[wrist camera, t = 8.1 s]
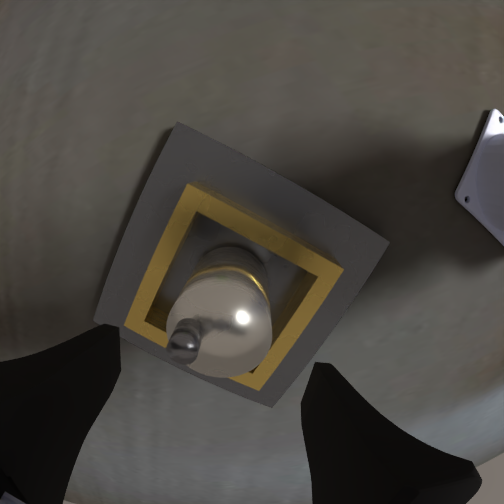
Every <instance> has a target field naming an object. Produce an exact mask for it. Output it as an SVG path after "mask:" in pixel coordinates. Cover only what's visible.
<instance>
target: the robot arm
mask: <svg viewBox="0 0 504 504" xmlns="http://www.w3.org/2000/svg"><path fill="white" fill-rule="evenodd" d="M499 119H500V122H499ZM465 197H467V201H466V202H465ZM455 199H456V200H457V201H458V202H459V203H460V204H461V205H462V206H463V207H464V208H465V209H467V210H468V211H469V212H470V213H471V214H472V215H473V216H474V217H475V218H476V219H477V220H478V221H479V222H480V223H481V224H482V225H483V226H484V227H485V228H486V229H487V230H488V231H489V232H490V233H491V234H492V235H493V236H494V237H495V238H496V239H497V240H498V241H499V242H500V243H501V244H502V245H503V246H504V116H503V115H502V114H501V113H500V112H499V111H498V110H497V109H492V110H491V111H490V113H489V115H488V118H487V120H486V123H485V126H484V128H483V131H482V133H481V136H480V138H479V141H478V143H477V145H476V148H475V150H474V152H473V155H472V157H471V159H470V161H469V164H468V166H467V168H466V170H465V172H464V174H463V177H462V179H461V181H460V183H459V185H458V187H457V189H456V191H455ZM120 372H121V361H120V330H119V327H117V326H113V325H109V324H102V325H100V326H97V327H95V328H93V329H91V330H89V331H87V332H85V333H83V334H81V335H79V336H76V337H74V338H72V339H70V340H68V341H66V342H64V343H61V344H59V345H56V346H54V347H51V348H49V349H46V350H44V351H41V352H38V353H35V354H32V355H29V356H25V357H22V358H18V359H13V360H8V361H3V362H0V504H63V500H64V496H65V493H66V489H67V486H68V482H69V479H70V476H71V473H72V470H73V467H74V465H75V462H76V459H77V457H78V454H79V452H80V449H81V447H82V444H83V442H84V440H85V438H86V436H87V434H88V432H89V430H90V428H91V427H92V425H93V423H94V422H95V420H96V418H97V416H98V415H99V413H100V411H101V410H102V408H103V406H104V405H105V403H106V401H107V400H108V398H109V396H110V395H111V393H112V391H113V389H114V386H115V384H116V382H117V379H118V377H119V374H120ZM301 422H302V430H303V436H304V441H305V446H306V452H307V457H308V462H309V468H310V473H311V481H312V501H313V504H466V503H467V502H468V501H469V500H470V499H471V498H472V497H473V496H474V495H475V494H476V493H477V491H478V490H479V488H480V486H481V484H482V479H481V477H480V475H479V473H478V471H477V470H476V468H475V466H474V464H473V462H472V461H469V460H466V459H463V458H460V457H457V456H453V455H450V454H448V453H445V452H443V451H440V450H438V449H436V448H434V447H431V446H429V445H427V444H425V443H424V442H422V441H420V440H418V439H416V438H415V437H413V436H411V435H410V434H408V433H406V432H405V431H403V430H402V429H400V428H399V427H397V426H396V425H395V424H393V423H392V422H391V421H389V420H388V419H387V418H385V417H384V416H383V415H382V414H380V413H379V412H378V411H377V410H376V409H375V408H374V407H373V406H372V405H370V404H369V403H368V402H367V401H366V400H365V399H364V398H363V397H362V396H361V395H360V394H359V393H358V392H357V391H356V390H355V389H354V388H353V387H352V386H351V384H350V383H349V382H348V381H347V380H346V379H345V378H344V377H343V376H342V375H341V374H340V373H339V371H338V370H337V369H336V368H335V367H334V366H333V365H332V364H330V363H320V362H315V364H314V367H313V370H312V373H311V375H310V378H309V381H308V384H307V387H306V390H305V393H304V395H303V398H302V401H301Z"/></svg>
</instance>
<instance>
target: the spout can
mask: <svg viewBox="0 0 504 504" xmlns="http://www.w3.org/2000/svg"><path fill="white" fill-rule="evenodd" d="M166 332H167V338H168V341H169V342H168V344H167V346H166V352H167V354H168V356H169V358H170V359H171V360H173V361H174V362H176V363H178V364H182V365H186V366H188V367H189V368H191V369H193V370H194V371H196V372H199V373H201V374H204V375H207V376H212V377H219V378H227V377H234V376H239V375H242V374H245V373H247V372H249V371H251V370H252V369H254V368H255V367H257V366H258V365H259V364H260V363H261V362H262V361H263V360H264V358H265V357H266V355H267V354H268V352H269V350H270V346H271V343H272V324H271V312H270V301H269V290H268V279H267V274H266V271H265V269H264V267H263V265H262V264H261V262H260V261H259V260H258V259H257V258H256V257H255V256H254V255H252V254H251V253H249V252H248V251H246V250H243V249H240V248H236V247H222V248H218V249H215V250H212V251H210V252H209V253H207V254H206V255H205V256H203V257H202V258H201V259H200V261H199V262H198V264H197V265H196V267H195V269H194V270H193V272H192V274H191V275H190V277H189V279H188V281H187V282H186V284H185V286H184V288H183V289H182V291H181V293H180V295H179V296H178V298H177V300H176V302H175V304H174V305H173V307H172V309H171V311H170V313H169V316H168V319H167V325H166Z"/></svg>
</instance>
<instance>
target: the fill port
mask: <svg viewBox="0 0 504 504" xmlns="http://www.w3.org/2000/svg"><path fill="white" fill-rule="evenodd" d="M389 244H390V242H389V241H387V240H386V239H384V238H383V237H381V236H380V235H378V234H377V233H375V232H374V231H372V230H371V229H369V228H368V227H366V226H364V225H363V224H361V223H360V222H358V221H357V220H355V219H353V218H352V217H350V216H349V215H347V214H345V213H344V212H342V211H341V210H339V209H337V208H336V207H334V206H333V205H331V204H329V203H328V202H326V201H324V200H323V199H321V198H319V197H318V196H316V195H314V194H313V193H311V192H309V191H307V190H306V189H304V188H302V187H301V186H299V185H297V184H295V183H294V182H292V181H290V180H288V179H287V178H285V177H283V176H281V175H280V174H278V173H276V172H274V171H272V170H271V169H269V168H267V167H265V166H263V165H262V164H260V163H258V162H256V161H254V160H252V159H251V158H249V157H247V156H245V155H243V154H241V153H239V152H237V151H235V150H234V149H232V148H230V147H228V146H226V145H224V144H222V143H220V142H218V141H216V140H214V139H212V138H210V137H208V136H206V135H204V134H202V133H200V132H198V131H196V130H194V129H192V128H190V127H188V126H186V125H184V124H182V123H180V122H177V123H176V125H175V127H174V129H173V130H172V132H171V134H170V136H169V138H168V140H167V142H166V144H165V146H164V148H163V150H162V152H161V154H160V156H159V158H158V160H157V162H156V164H155V166H154V168H153V170H152V172H151V174H150V176H149V178H148V180H147V183H146V185H145V187H144V189H143V191H142V193H141V196H140V198H139V200H138V202H137V205H136V207H135V209H134V211H133V214H132V216H131V218H130V221H129V223H128V226H127V228H126V230H125V233H124V235H123V238H122V240H121V243H120V245H119V248H118V250H117V253H116V256H115V258H114V261H113V263H112V266H111V269H110V272H109V274H108V277H107V280H106V283H105V285H104V288H103V291H102V294H101V297H100V300H99V303H98V306H97V309H96V312H95V315H94V318H93V321H94V322H95V323H97V324H99V325H102V324H109V325H113V326H117V327H119V330H120V337H121V338H123V339H125V340H126V341H128V342H130V343H132V344H134V345H135V346H137V347H139V348H141V349H143V350H145V351H146V352H148V353H150V354H152V355H154V356H156V357H158V358H160V359H162V360H164V361H166V362H168V363H170V364H172V365H174V366H176V367H178V368H180V369H182V370H184V371H186V372H188V373H190V374H192V375H195V376H197V377H199V378H201V379H203V380H205V381H208V382H210V383H212V384H214V385H217V386H219V387H221V388H224V389H226V390H228V391H231V392H233V393H235V394H238V395H240V396H243V397H245V398H248V399H250V400H253V401H255V402H258V403H260V404H263V405H265V406H268V407H271V408H272V407H273V406H274V405H275V404H276V403H277V401H278V400H279V399H280V398H281V397H282V395H283V394H284V393H285V392H286V390H287V389H288V388H289V387H290V386H291V384H292V383H293V382H294V381H295V379H296V378H297V377H298V375H299V374H300V373H301V372H302V370H303V369H304V368H305V367H306V365H307V364H308V363H309V361H310V360H311V359H312V357H313V356H314V355H315V353H316V352H317V351H318V349H319V348H320V347H321V345H322V344H323V343H324V341H325V340H326V339H327V337H328V336H329V334H330V333H331V332H332V330H333V329H334V327H335V326H336V325H337V323H338V322H339V320H340V319H341V318H342V316H343V315H344V313H345V312H346V310H347V309H348V307H349V306H350V305H351V303H352V302H353V300H354V299H355V297H356V296H357V294H358V293H359V291H360V290H361V288H362V287H363V285H364V283H365V282H366V280H367V279H368V277H369V276H370V274H371V273H372V271H373V269H374V268H375V266H376V265H377V263H378V262H379V260H380V258H381V257H382V255H383V253H384V252H385V250H386V249H387V247H388V245H389ZM222 247H236V248H240V249H243V250H246V251H248V252H249V253H251V254H252V255H254V256H255V257H256V258H257V259H258V260H259V261H260V262H261V264H262V265H263V267H264V269H265V271H266V274H267V279H268V290H269V301H270V312H271V324H272V343H271V346H270V350H269V352H268V354H267V355H266V357H265V358H264V360H263V361H262V362H261V363H260V364H259V365H258V366H257V367H255V368H254V369H252V370H251V371H249V372H247V373H245V374H242V375H239V376H234V377H227V378H219V377H212V376H207V375H204V374H201V373H199V372H196V371H194V370H193V369H191V368H189V367H188V366H186V365H182V364H178V363H176V362H174V361H173V360H171V359H170V358H169V356H168V354H167V352H166V346H167V344H168V342H169V341H168V338H167V332H166V325H167V319H168V316H169V313H170V311H171V309H172V307H173V305H174V304H175V302H176V300H177V298H178V296H179V295H180V293H181V291H182V289H183V288H184V286H185V284H186V282H187V281H188V279H189V277H190V275H191V274H192V272H193V270H194V269H195V267H196V265H197V264H198V262H199V261H200V259H201V258H202V257H203V256H205V255H206V254H207V253H209V252H210V251H212V250H215V249H218V248H222Z"/></svg>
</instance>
